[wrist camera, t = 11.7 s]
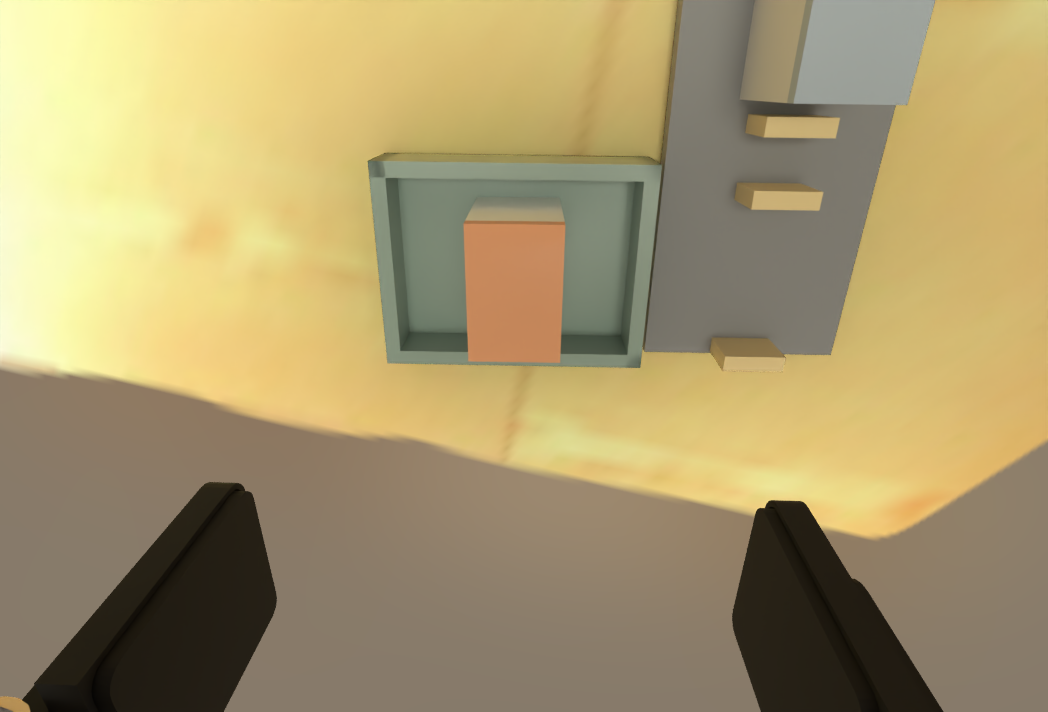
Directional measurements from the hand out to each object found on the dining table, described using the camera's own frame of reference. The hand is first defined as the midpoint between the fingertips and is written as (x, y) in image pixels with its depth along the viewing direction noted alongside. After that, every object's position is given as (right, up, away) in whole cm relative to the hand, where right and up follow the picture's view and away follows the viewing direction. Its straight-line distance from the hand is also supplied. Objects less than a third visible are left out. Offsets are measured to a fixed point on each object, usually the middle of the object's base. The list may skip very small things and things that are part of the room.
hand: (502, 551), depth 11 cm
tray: (0, +9, +19) cm, 21 cm away
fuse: (0, +9, +19) cm, 21 cm away
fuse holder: (+12, +13, +17) cm, 25 cm away
